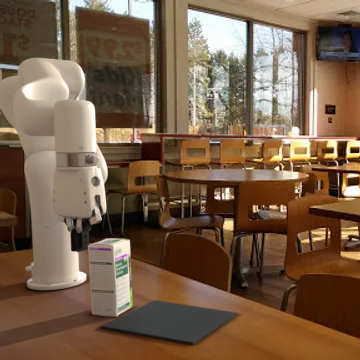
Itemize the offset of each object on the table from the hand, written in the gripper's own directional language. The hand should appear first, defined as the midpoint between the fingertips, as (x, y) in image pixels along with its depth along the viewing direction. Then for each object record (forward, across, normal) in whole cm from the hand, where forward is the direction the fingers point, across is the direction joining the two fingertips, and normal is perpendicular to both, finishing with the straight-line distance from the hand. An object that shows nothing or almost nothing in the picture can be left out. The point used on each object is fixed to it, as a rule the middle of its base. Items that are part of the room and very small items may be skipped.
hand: (80, 250), depth 102 cm
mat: (+12, -22, 0) cm, 25 cm away
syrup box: (+12, -8, 0) cm, 14 cm away
